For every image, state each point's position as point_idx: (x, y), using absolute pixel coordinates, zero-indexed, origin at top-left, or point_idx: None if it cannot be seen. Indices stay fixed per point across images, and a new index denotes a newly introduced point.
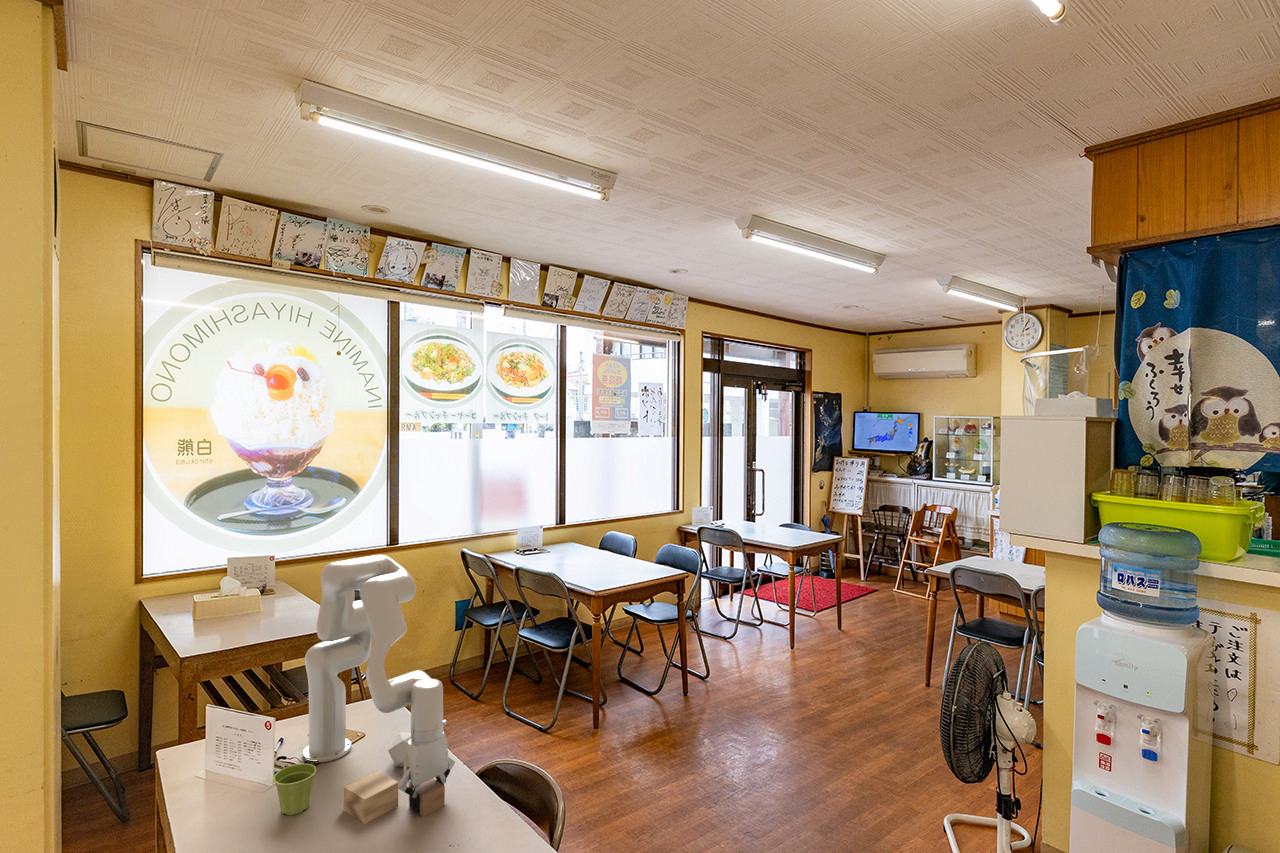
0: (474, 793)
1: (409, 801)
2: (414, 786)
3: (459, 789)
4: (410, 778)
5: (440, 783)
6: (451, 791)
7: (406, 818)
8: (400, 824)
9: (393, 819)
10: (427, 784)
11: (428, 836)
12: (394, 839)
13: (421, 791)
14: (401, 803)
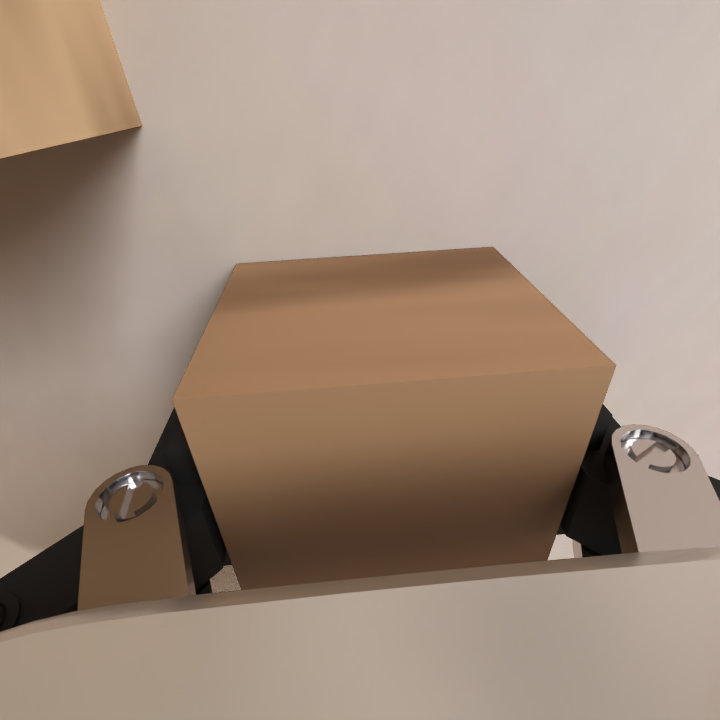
0: (698, 441)
1: (166, 431)
2: (260, 426)
3: (715, 329)
4: (109, 609)
5: (546, 552)
6: (661, 307)
7: (157, 389)
8: (90, 423)
9: (41, 329)
10: (433, 492)
11: (219, 588)
12: (17, 523)
13: (284, 558)
14: (192, 108)
